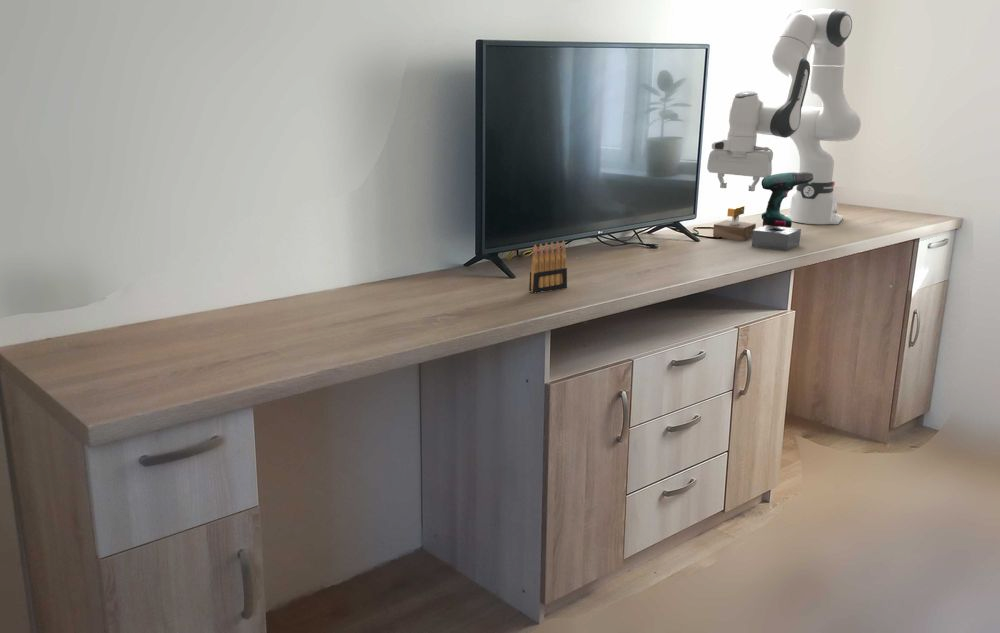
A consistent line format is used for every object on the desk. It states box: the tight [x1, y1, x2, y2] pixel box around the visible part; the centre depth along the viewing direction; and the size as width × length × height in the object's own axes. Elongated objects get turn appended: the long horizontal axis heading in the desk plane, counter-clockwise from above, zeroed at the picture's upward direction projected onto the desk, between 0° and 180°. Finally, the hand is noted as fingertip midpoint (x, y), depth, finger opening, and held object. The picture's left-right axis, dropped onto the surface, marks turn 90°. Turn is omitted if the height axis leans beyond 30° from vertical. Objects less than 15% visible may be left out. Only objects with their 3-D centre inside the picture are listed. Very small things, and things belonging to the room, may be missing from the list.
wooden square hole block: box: [712, 219, 757, 241], centre depth 305 cm, size 10×10×4 cm
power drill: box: [761, 171, 814, 228], centre depth 310 cm, size 7×16×20 cm, turn 89°
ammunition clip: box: [528, 240, 568, 294], centre depth 234 cm, size 11×2×12 cm, turn 126°
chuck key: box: [727, 204, 745, 225], centre depth 305 cm, size 8×2×10 cm, turn 144°
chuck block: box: [751, 225, 802, 252], centre depth 291 cm, size 11×11×5 cm
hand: (737, 189), depth 301 cm, fingers open, 8 cm apart
